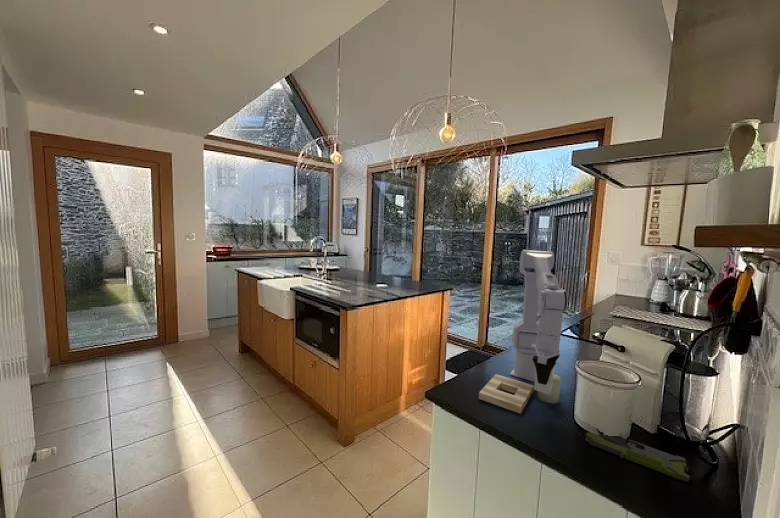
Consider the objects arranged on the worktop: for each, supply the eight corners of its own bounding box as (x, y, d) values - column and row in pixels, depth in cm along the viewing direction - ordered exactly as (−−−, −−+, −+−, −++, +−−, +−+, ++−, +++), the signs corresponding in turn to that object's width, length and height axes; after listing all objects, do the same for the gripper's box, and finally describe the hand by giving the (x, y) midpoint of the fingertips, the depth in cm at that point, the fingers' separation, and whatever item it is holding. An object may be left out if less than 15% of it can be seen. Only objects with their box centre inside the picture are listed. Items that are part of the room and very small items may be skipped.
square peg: (536, 384, 94) (539, 360, 93) (552, 388, 91) (554, 364, 91) (533, 389, 90) (536, 365, 90) (549, 394, 88) (552, 369, 87)
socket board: (495, 379, 110) (495, 374, 110) (533, 391, 104) (533, 385, 103) (478, 398, 97) (479, 392, 97) (520, 413, 90) (521, 406, 90)
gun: (681, 450, 79) (689, 489, 67) (591, 418, 91) (583, 447, 79) (683, 441, 79) (691, 478, 67) (592, 410, 90) (585, 437, 78)
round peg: (539, 391, 104) (541, 370, 103) (559, 397, 101) (562, 375, 100) (535, 398, 99) (538, 376, 98) (557, 405, 96) (559, 383, 95)
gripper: (538, 324, 98) (533, 367, 99) (527, 336, 86) (522, 385, 87) (564, 329, 94) (559, 374, 95) (557, 342, 82) (551, 394, 83)
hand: (543, 380), depth 91 cm, fingers closed on square peg, 4 cm apart
